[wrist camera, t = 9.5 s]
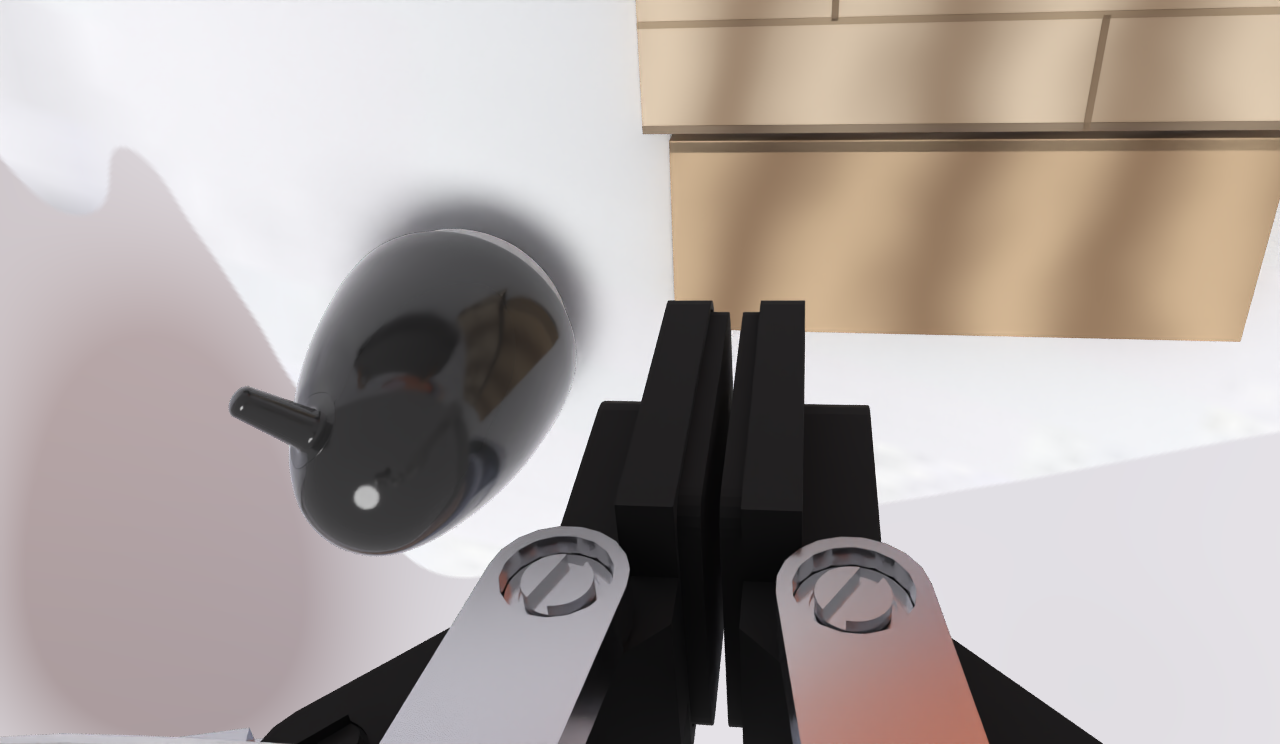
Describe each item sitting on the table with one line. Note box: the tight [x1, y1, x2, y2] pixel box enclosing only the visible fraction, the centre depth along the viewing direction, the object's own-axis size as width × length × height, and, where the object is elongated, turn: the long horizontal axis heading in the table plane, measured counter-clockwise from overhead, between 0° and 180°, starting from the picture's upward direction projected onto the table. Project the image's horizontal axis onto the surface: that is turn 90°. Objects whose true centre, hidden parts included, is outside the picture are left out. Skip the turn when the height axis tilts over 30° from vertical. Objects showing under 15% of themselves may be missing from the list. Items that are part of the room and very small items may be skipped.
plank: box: [669, 130, 1280, 342], centre depth 39 cm, size 22×8×1 cm, turn 93°
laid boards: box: [636, 0, 1280, 134], centre depth 35 cm, size 24×8×1 cm, turn 93°
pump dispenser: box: [229, 229, 576, 556], centre depth 38 cm, size 10×10×15 cm
